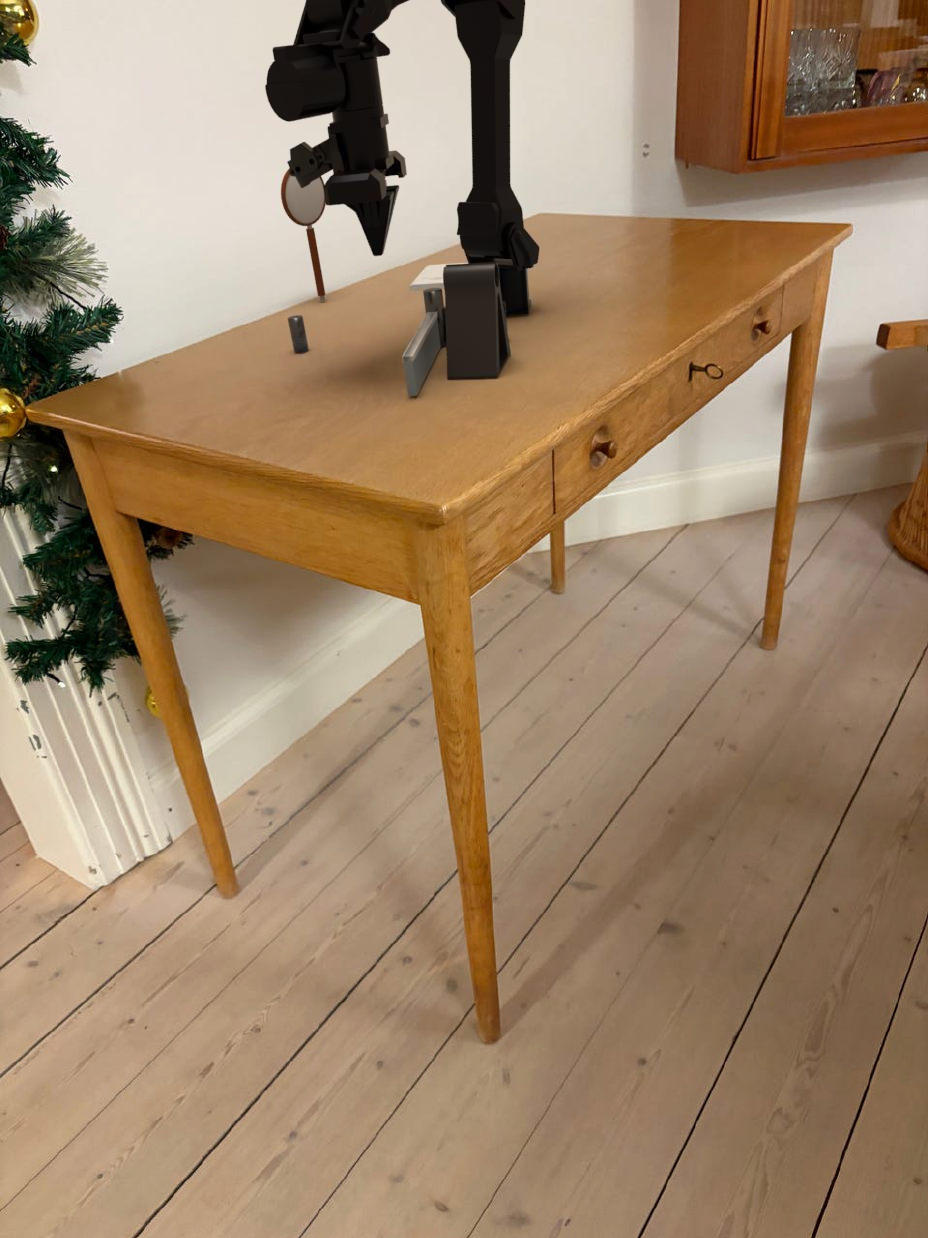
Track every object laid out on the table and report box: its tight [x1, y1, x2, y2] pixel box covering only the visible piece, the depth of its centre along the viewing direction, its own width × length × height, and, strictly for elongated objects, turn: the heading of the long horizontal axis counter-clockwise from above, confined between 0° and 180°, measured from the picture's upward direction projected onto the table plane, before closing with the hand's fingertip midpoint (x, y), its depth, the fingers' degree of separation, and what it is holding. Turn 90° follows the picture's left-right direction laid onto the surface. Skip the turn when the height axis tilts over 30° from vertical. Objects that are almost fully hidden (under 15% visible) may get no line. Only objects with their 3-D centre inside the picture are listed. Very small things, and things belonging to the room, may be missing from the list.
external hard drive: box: [408, 262, 469, 292], centre depth 159 cm, size 2×8×12 cm
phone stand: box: [443, 262, 512, 381], centre depth 115 cm, size 9×6×12 cm, turn 167°
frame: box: [287, 288, 509, 354], centre depth 127 cm, size 29×2×7 cm, turn 79°
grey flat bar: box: [401, 312, 441, 397], centre depth 117 cm, size 18×1×4 cm, turn 173°
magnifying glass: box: [280, 168, 327, 302], centre depth 149 cm, size 9×2×20 cm, turn 142°
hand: (378, 255), depth 117 cm, fingers closed
